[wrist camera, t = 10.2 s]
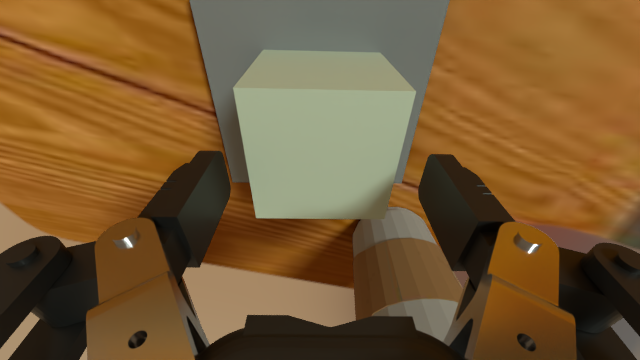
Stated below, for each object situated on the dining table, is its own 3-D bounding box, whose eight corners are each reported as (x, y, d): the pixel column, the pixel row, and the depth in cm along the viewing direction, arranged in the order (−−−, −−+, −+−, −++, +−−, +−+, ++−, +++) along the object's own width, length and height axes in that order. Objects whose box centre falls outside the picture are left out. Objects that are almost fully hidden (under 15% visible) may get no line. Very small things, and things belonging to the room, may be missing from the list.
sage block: (380, 52, 13) (416, 91, 9) (365, 152, 17) (384, 219, 12) (263, 49, 13) (233, 87, 8) (273, 151, 17) (256, 218, 12)
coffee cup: (430, 254, 25) (531, 498, 13) (344, 262, 26) (368, 502, 14) (442, 189, 20) (622, 485, 8) (336, 201, 21) (362, 493, 9)
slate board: (442, -7, 13) (450, -6, 12) (397, 175, 19) (401, 183, 19) (195, -12, 12) (186, -11, 12) (236, 173, 19) (232, 182, 18)
